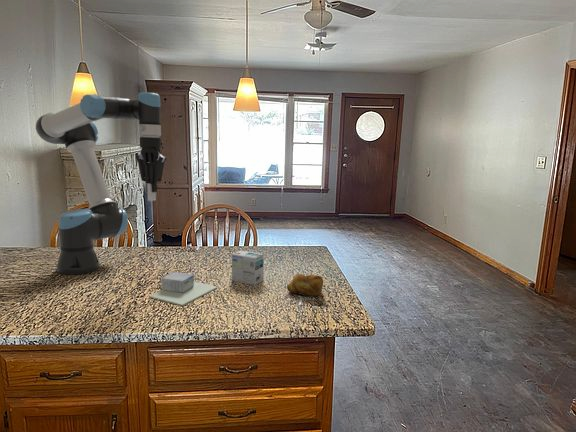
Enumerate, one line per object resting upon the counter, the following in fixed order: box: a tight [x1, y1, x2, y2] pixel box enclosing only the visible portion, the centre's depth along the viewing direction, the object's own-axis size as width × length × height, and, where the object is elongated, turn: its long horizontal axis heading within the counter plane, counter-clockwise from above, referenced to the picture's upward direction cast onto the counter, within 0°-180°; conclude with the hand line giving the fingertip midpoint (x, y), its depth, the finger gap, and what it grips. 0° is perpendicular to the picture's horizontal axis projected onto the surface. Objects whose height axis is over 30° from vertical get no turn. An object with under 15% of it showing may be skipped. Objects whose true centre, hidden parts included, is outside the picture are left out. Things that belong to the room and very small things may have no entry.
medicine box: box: [160, 271, 195, 293], centre depth 147 cm, size 8×4×9 cm
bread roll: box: [286, 273, 324, 297], centre depth 148 cm, size 13×10×8 cm
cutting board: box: [149, 281, 218, 307], centre depth 144 cm, size 14×19×1 cm
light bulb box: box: [231, 250, 265, 286], centre depth 158 cm, size 11×7×11 cm, turn 65°
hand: (151, 200), depth 155 cm, fingers closed
